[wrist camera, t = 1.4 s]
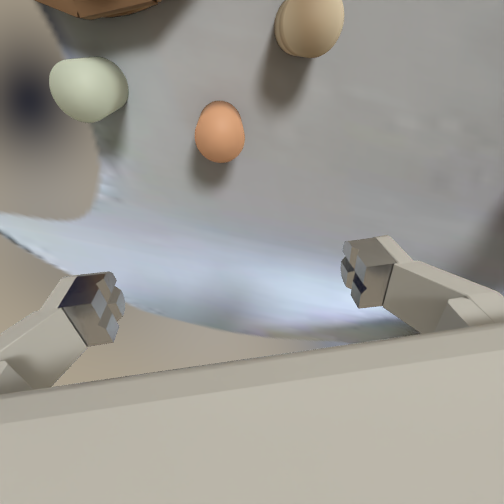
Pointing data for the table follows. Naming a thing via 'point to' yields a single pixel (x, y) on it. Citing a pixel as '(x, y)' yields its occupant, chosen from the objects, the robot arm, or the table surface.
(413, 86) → the table surface
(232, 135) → the orange egg
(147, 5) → the groove tray
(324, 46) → the tan egg
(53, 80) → the sage green egg
